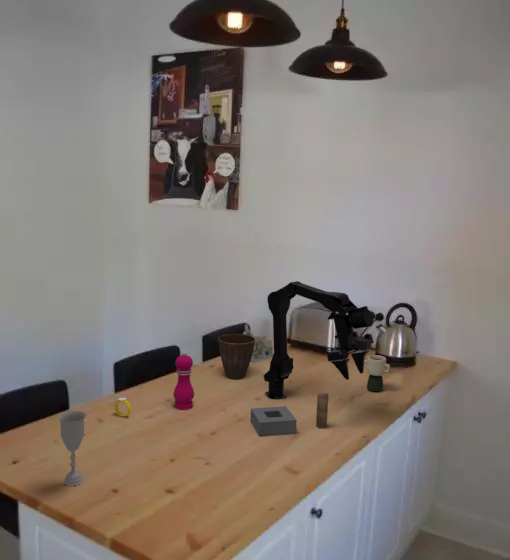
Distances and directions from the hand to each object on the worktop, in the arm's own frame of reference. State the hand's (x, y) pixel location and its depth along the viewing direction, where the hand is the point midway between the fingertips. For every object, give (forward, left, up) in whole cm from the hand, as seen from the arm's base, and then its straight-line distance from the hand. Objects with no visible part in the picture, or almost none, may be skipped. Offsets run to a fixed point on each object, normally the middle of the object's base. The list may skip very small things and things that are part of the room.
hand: (354, 376), depth 203 cm
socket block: (+2, -28, -15) cm, 32 cm away
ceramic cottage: (-75, -15, -16) cm, 78 cm away
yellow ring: (-16, -75, -15) cm, 79 cm away
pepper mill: (-21, -54, -15) cm, 60 cm away
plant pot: (-50, -29, -15) cm, 60 cm away
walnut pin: (+4, -12, -15) cm, 20 cm away
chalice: (+27, -89, -15) cm, 95 cm away
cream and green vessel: (-26, +21, -15) cm, 37 cm away
